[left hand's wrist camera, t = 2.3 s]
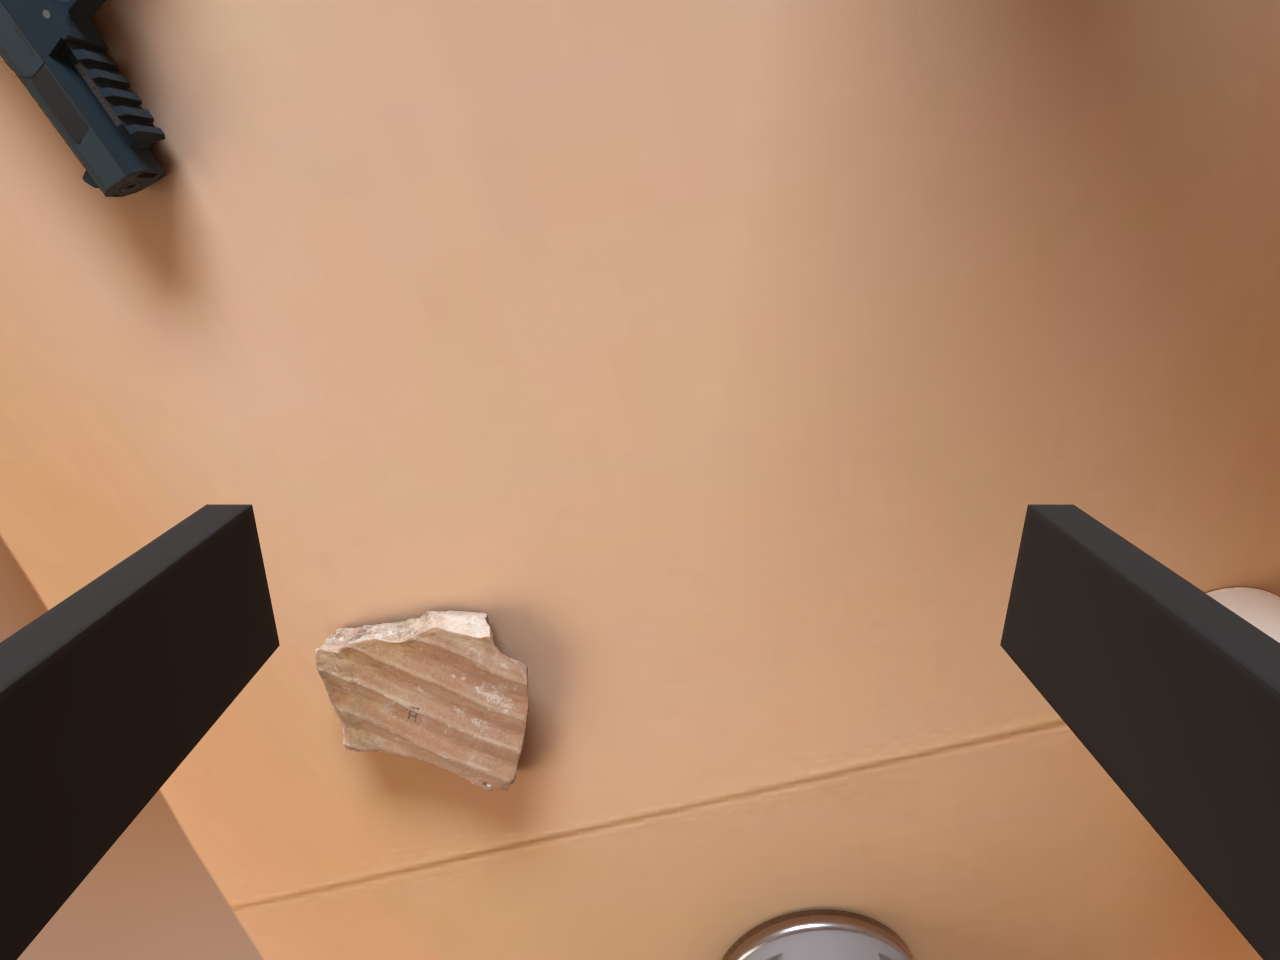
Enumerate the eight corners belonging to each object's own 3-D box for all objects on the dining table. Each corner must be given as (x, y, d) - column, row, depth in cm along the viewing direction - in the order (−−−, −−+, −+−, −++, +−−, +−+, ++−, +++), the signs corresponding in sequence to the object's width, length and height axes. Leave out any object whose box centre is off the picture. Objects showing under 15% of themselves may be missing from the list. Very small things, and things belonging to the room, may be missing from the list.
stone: (544, 622, 45) (538, 645, 42) (519, 775, 49) (513, 804, 46) (332, 586, 44) (314, 608, 42) (325, 744, 48) (308, 772, 46)
